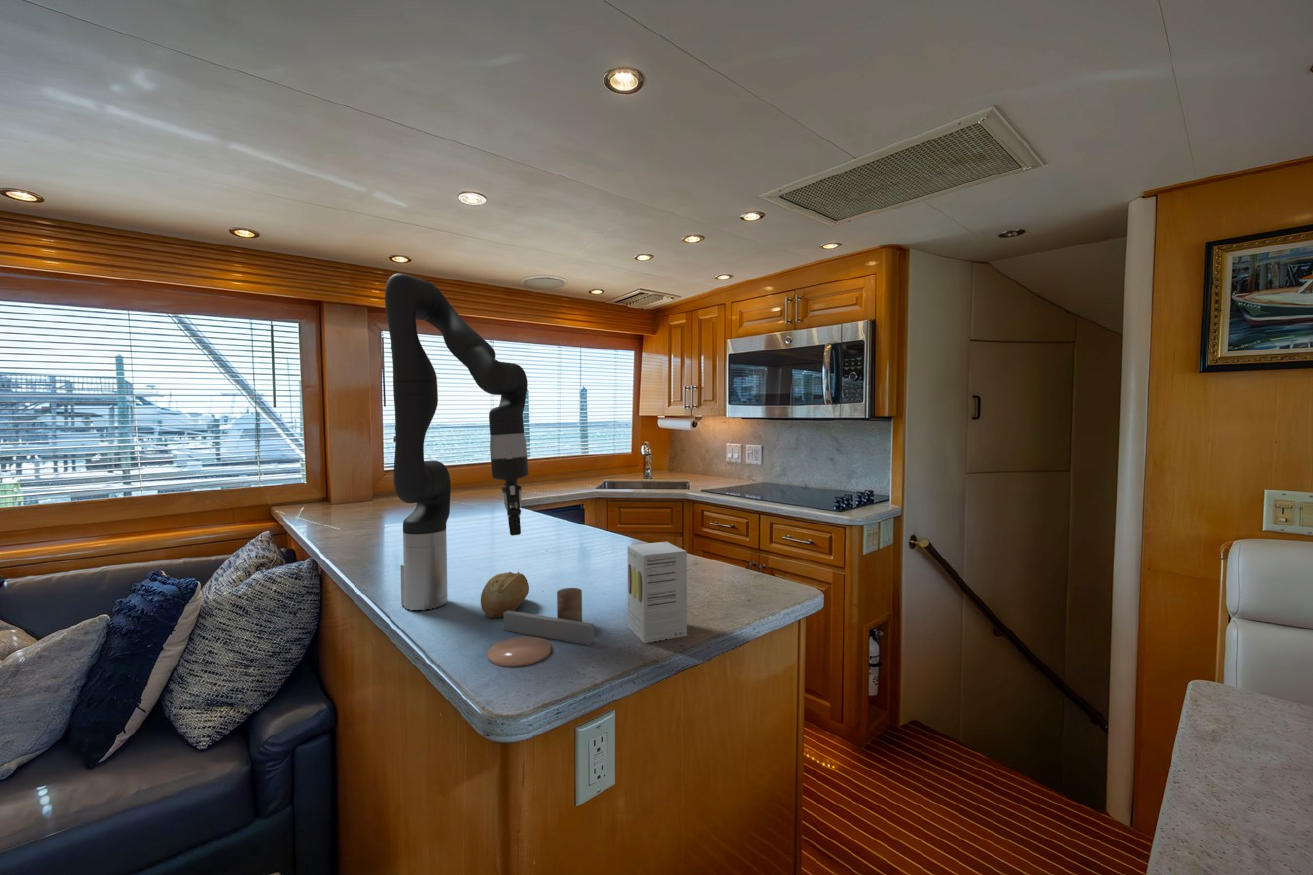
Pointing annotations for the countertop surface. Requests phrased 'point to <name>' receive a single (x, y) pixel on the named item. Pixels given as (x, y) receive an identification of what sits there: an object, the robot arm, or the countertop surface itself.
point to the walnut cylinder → (569, 604)
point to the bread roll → (503, 593)
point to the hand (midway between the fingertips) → (514, 531)
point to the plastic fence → (549, 627)
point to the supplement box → (657, 591)
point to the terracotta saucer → (519, 651)
